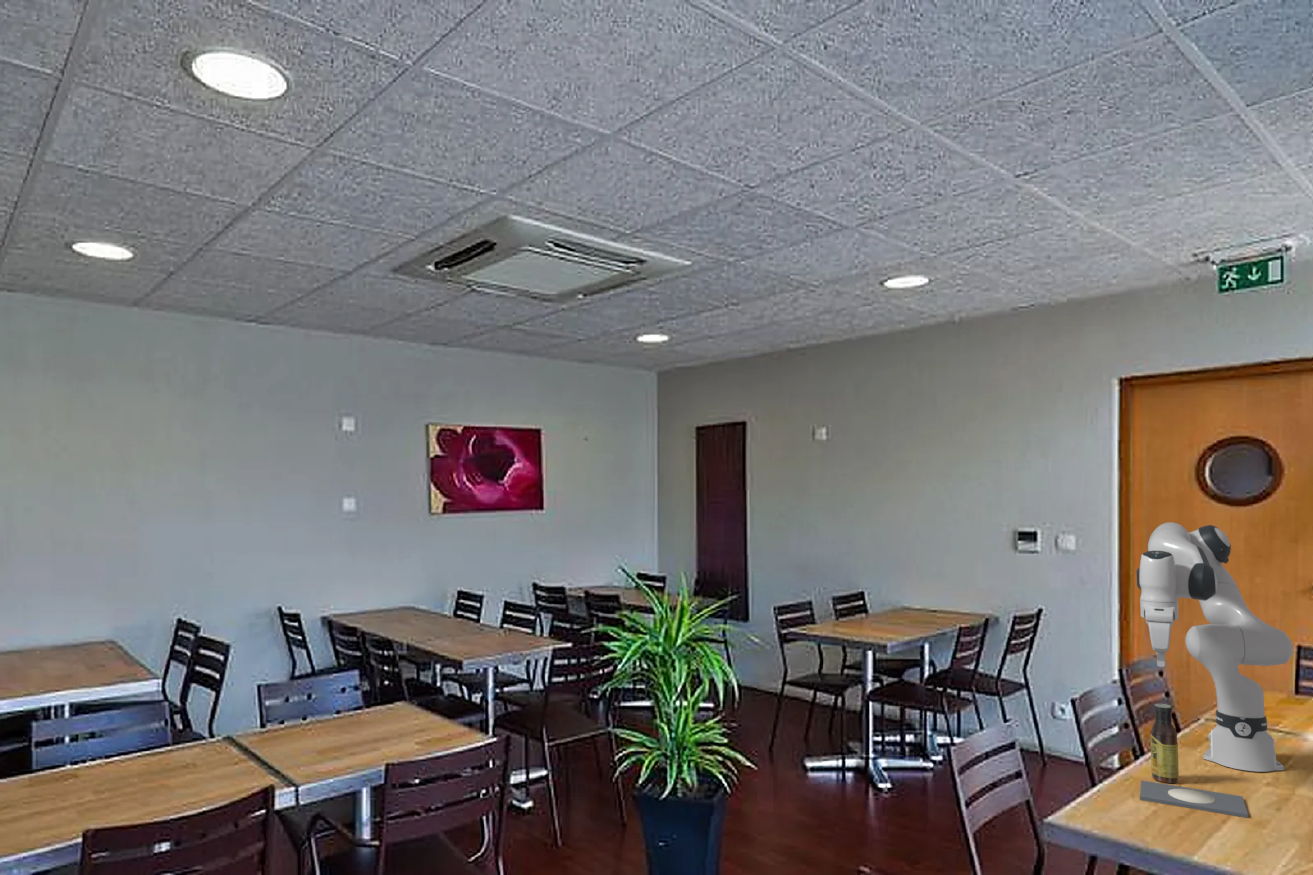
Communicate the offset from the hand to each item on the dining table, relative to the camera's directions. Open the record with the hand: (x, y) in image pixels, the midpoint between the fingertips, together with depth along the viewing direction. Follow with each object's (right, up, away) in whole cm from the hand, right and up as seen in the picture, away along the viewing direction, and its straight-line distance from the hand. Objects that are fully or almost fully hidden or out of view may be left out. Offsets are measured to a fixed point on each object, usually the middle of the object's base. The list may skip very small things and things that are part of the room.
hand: (1161, 663), depth 223 cm
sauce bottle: (0, -31, -2) cm, 31 cm away
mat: (-2, -30, -16) cm, 34 cm away
